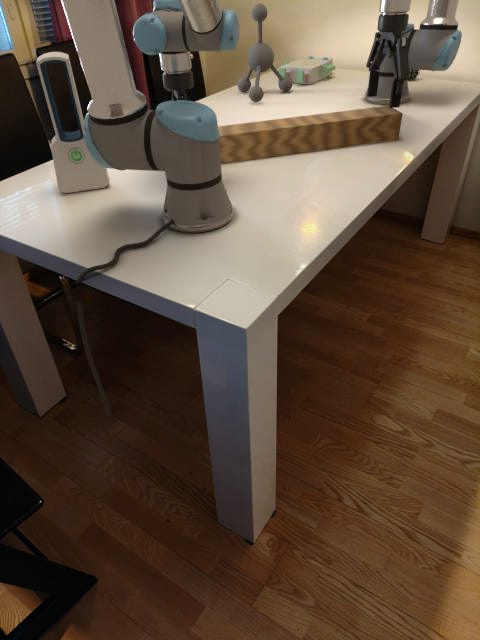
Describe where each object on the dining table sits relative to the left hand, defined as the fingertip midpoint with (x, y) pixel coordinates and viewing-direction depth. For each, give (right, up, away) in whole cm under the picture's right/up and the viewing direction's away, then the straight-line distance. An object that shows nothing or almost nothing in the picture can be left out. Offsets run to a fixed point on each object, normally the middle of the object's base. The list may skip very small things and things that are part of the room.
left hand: (187, 160), depth 135 cm
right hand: (+55, +18, +3) cm, 58 cm away
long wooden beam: (+28, +5, +5) cm, 29 cm away
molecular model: (+25, +43, +55) cm, 74 cm away
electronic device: (-25, -10, -10) cm, 29 cm away
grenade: (+84, +53, +63) cm, 118 cm away
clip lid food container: (+43, +59, +73) cm, 103 cm away
